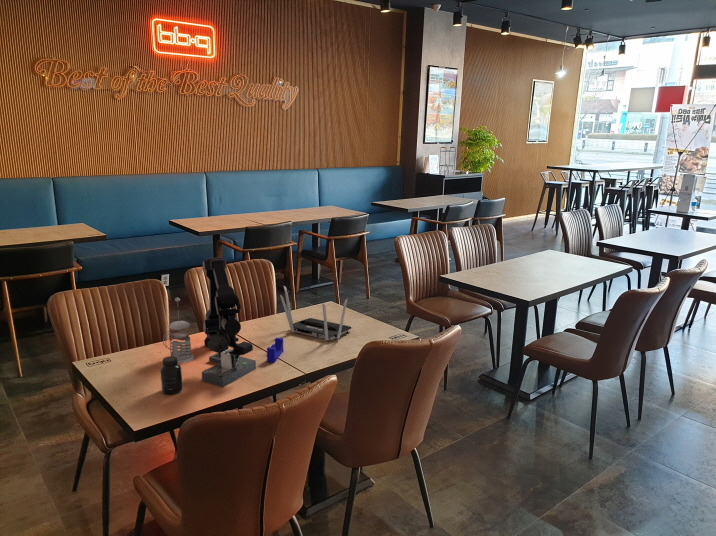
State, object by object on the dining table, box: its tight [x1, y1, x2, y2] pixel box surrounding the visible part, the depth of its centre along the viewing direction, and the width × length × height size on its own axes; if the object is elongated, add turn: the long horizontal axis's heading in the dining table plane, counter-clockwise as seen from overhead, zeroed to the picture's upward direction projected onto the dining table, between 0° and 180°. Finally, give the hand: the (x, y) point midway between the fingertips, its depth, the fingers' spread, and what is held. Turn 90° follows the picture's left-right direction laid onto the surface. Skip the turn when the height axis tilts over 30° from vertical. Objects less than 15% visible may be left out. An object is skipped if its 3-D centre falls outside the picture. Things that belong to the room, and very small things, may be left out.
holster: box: [208, 352, 221, 365], centre depth 218 cm, size 8×8×2 cm
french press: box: [162, 297, 195, 364], centre depth 216 cm, size 10×12×25 cm
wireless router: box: [279, 285, 352, 341], centre depth 246 cm, size 34×23×20 cm
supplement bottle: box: [159, 355, 184, 396], centre depth 191 cm, size 7×7×12 cm
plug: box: [221, 348, 237, 370], centre depth 204 cm, size 4×4×9 cm
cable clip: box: [266, 337, 284, 364], centre depth 222 cm, size 12×4×6 cm, turn 171°
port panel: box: [201, 355, 257, 388], centre depth 205 cm, size 10×18×4 cm, turn 151°
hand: (229, 366), depth 205 cm, fingers closed on plug, 4 cm apart
